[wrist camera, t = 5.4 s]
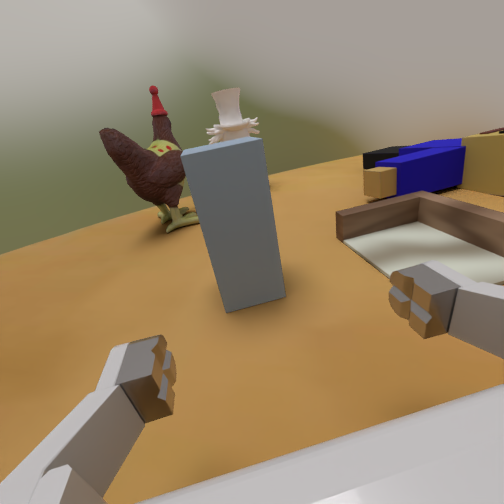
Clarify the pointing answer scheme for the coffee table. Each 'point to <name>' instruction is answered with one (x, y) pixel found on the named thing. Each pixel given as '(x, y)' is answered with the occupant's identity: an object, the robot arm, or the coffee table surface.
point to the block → (237, 219)
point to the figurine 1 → (153, 166)
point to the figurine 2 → (230, 117)
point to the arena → (426, 235)
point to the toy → (437, 166)
